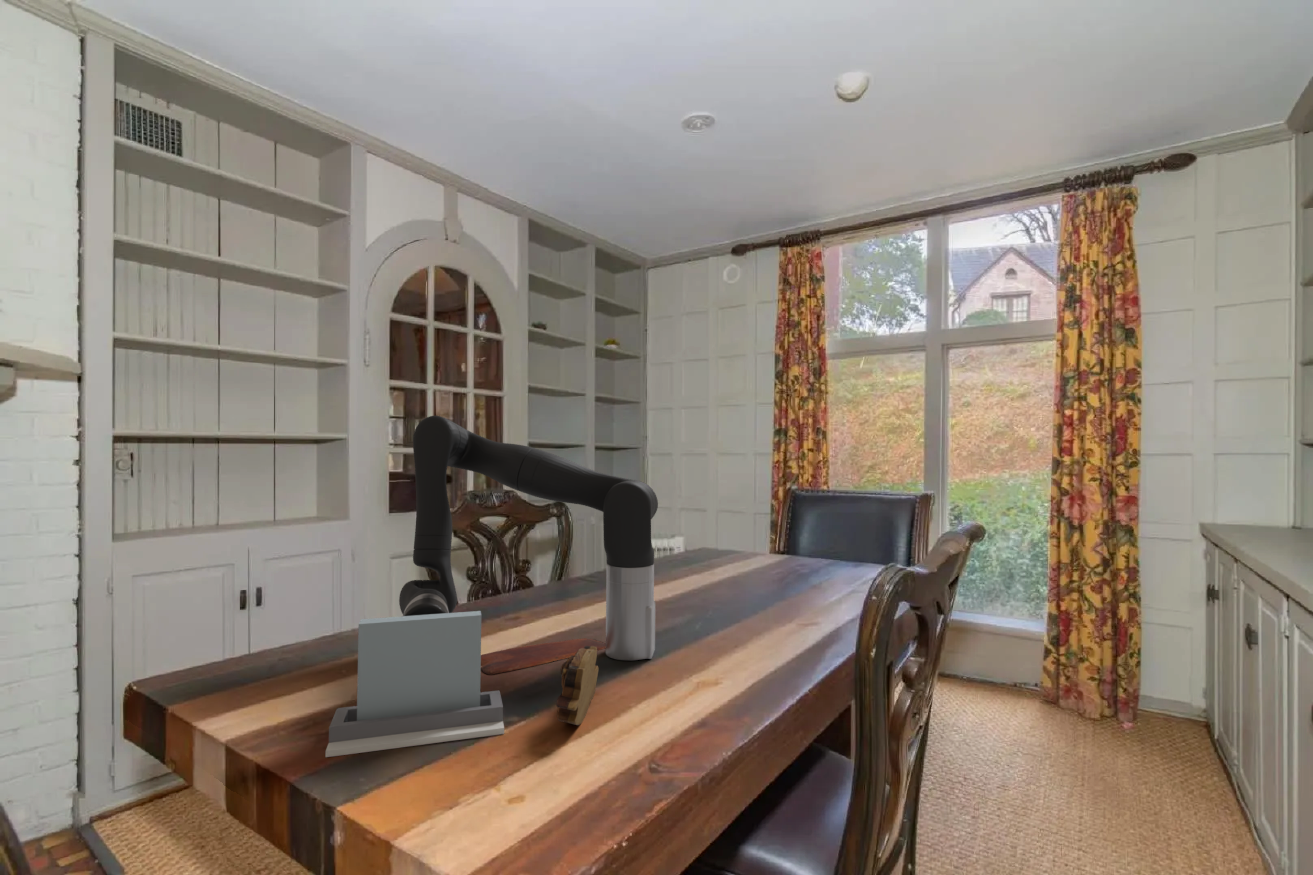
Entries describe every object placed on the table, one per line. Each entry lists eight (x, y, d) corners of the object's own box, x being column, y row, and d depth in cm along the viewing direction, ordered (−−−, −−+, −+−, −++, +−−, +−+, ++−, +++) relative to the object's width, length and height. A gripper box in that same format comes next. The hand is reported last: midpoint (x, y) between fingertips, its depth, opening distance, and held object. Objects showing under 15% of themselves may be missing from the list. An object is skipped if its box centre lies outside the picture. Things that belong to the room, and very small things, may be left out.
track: (497, 703, 96) (498, 684, 97) (504, 733, 86) (504, 713, 86) (339, 721, 89) (339, 701, 90) (325, 757, 79) (325, 734, 79)
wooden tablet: (489, 680, 108) (489, 670, 108) (467, 664, 116) (467, 655, 116) (617, 650, 124) (617, 642, 124) (590, 638, 132) (590, 630, 132)
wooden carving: (571, 696, 100) (571, 632, 100) (599, 696, 99) (600, 633, 100) (550, 744, 83) (551, 668, 83) (584, 744, 83) (585, 668, 83)
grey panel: (477, 694, 97) (478, 601, 97) (479, 717, 89) (481, 615, 89) (364, 707, 92) (365, 608, 92) (356, 733, 84) (358, 624, 84)
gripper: (380, 600, 105) (369, 626, 89) (469, 594, 109) (473, 618, 94) (379, 645, 104) (368, 679, 89) (469, 638, 109) (472, 668, 93)
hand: (422, 647), depth 91 cm, fingers open, 8 cm apart
